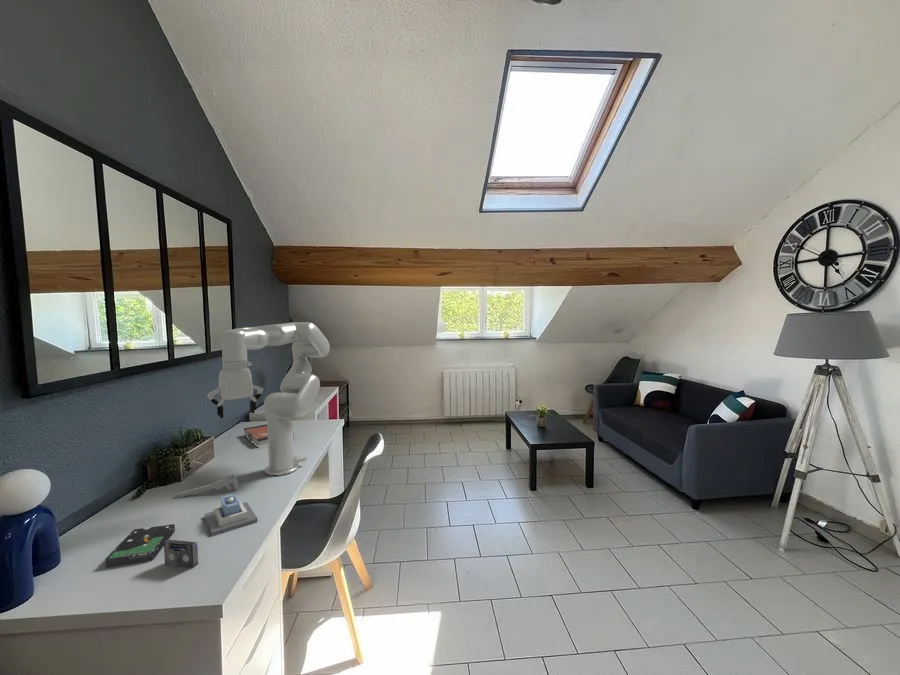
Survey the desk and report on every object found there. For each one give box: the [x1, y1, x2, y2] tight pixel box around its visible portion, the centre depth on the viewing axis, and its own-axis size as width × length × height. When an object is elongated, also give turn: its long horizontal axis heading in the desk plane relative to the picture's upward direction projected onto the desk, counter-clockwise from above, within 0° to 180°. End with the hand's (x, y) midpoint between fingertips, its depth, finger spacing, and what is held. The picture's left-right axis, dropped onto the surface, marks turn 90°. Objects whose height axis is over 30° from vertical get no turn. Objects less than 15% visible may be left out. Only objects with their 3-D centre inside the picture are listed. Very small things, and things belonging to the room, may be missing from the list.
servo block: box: [220, 493, 240, 517], centre depth 121 cm, size 4×9×6 cm, turn 39°
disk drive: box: [105, 523, 176, 569], centre depth 106 cm, size 10×3×15 cm
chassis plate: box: [203, 500, 259, 536], centre depth 121 cm, size 12×14×3 cm
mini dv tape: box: [163, 539, 199, 569], centre depth 99 cm, size 8×2×6 cm, turn 81°
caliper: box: [171, 473, 239, 499], centre depth 139 cm, size 20×1×6 cm, turn 106°
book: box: [243, 424, 295, 446], centre depth 202 cm, size 26×18×5 cm
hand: (237, 414), depth 137 cm, fingers open, 9 cm apart
